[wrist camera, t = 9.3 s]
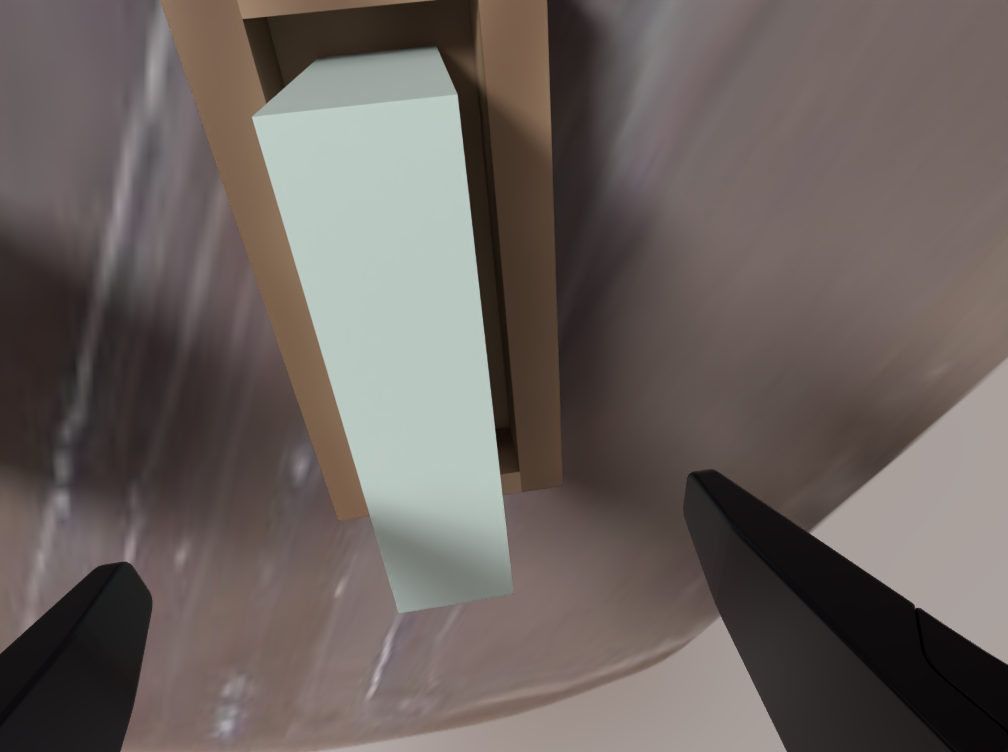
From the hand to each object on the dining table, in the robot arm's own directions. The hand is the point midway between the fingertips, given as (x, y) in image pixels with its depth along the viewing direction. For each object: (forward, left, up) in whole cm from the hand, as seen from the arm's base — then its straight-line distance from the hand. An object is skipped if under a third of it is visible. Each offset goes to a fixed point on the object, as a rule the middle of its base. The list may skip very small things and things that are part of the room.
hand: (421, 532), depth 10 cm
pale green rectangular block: (0, 0, -11) cm, 11 cm away
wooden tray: (0, 0, -12) cm, 12 cm away
